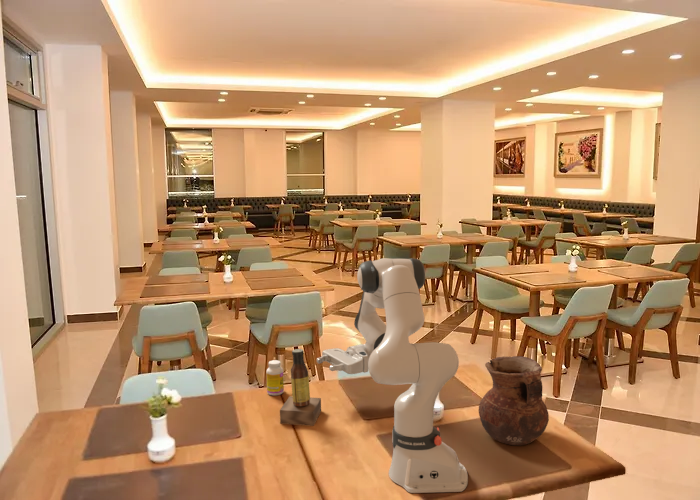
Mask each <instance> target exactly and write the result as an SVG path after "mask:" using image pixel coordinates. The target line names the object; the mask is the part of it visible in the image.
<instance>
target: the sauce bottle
mask: <svg viewBox="0 0 700 500" xmlns="http://www.w3.org/2000/svg"><path fill="white" fill-rule="evenodd" d="M291 352H292V353H291V355H292V366H291V368H290V376H291V377H290V381H291V396H292V397H293V404H294V405H295V406H297V407H304V406H307V405H308V404H309V403H310V397H311V394H310V393H311V392H310V381H309V380H310V379H309V371H308V368H307V366H306V363H305V359H304V354H305V351H304V349H302V348H297V349H296V348H295V349H293V350H291Z"/></svg>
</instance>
